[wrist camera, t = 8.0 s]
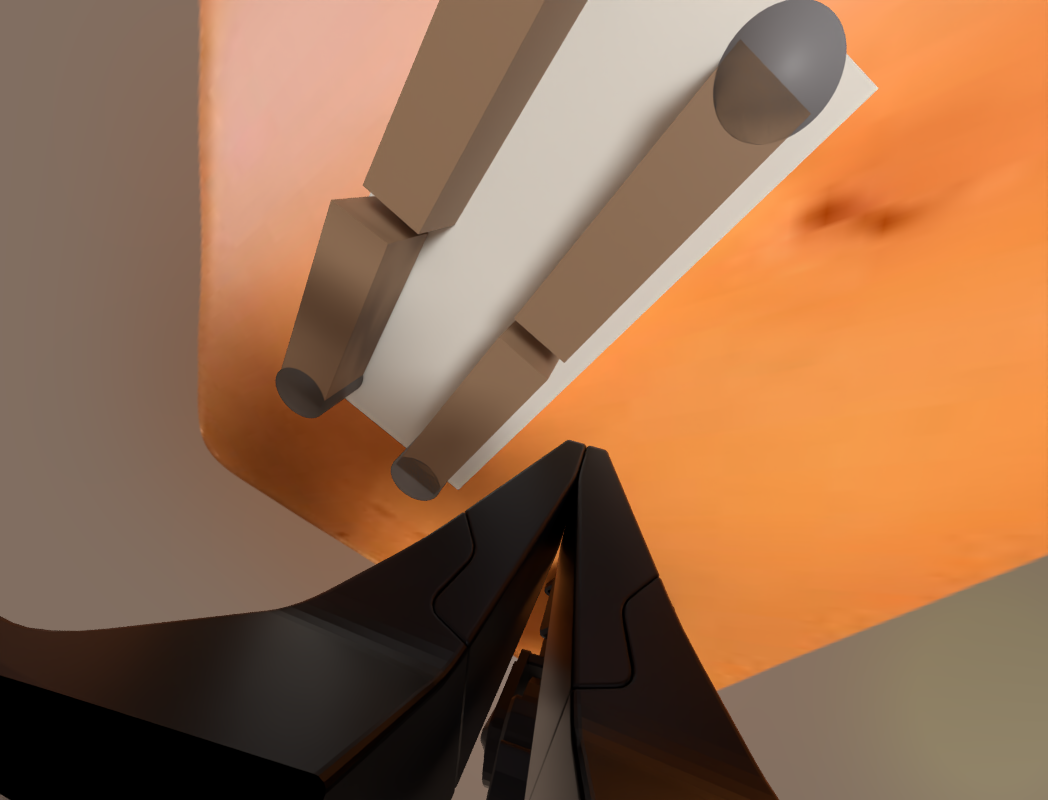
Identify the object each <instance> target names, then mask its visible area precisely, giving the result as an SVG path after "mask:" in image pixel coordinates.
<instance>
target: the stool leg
mask: <svg viewBox="0 0 1048 800" xmlns="http://www.w3.org/2000/svg"><path fill="white" fill-rule="evenodd" d="M427 235H428V232H426V233H422V234H417V233H416V232H415V231H414V230H413V229H412V228H411V227H409V226H408V225H407V224H406V223H405V222H404V221H403V220H402V219H400V218H399V217H398V216H397V215H396V214H395V213H394V212H392V211H391V210H390V209H389V208H388V207H387V206H386V205H385V204H383V203H382V202H381V201H380V200H379V199H378V198H377V197H375V196H370V197H359V198H347V199H336V200H331V202H330V206H329V209H328V212H327V216H326V219H325V223H324V226H323V229H322V233H321V236H320V240H319V243H318V246H317V250H316V253H315V257H314V260H313V263H312V267H311V270H310V274H309V277H308V280H307V284H306V287H305V291H304V294H303V297H302V301H301V304H300V308H299V311H298V314H297V318H296V321H295V325H294V328H293V331H292V335H291V338H290V342H289V345H288V348H287V352H286V355H285V359H284V362H283V365H282V369H281V370H280V371H279V372H278V373H277V376H276V387H277V391H278V393H279V395H280V397H281V398H282V400H283V401H284V403H285V404H286V405H287V406H288V407H289V408H290V409H291V410H292V411H294V412H295V413H297V414H299V415H301V416H303V417H306V418H316V417H319V416H320V415H322V414H323V413H324V412H326V411H327V410H329V409H330V408H332V407H333V406H334V405H336V404H337V403H339V402H340V401H341V400H343V399H344V398H346V397H347V396H348V395H350V394H351V393H353V392H354V391H356V390H357V389H358V388H359V387H360V386H361V385H362V382H363V374H364V372H365V370H366V367H367V365H368V363H369V361H370V359H371V357H372V355H373V352H374V350H375V348H376V346H377V344H378V342H379V339H380V337H381V335H382V333H383V331H384V329H385V326H386V324H387V322H388V320H389V318H390V316H391V313H392V311H393V309H394V307H395V305H396V303H397V300H398V298H399V296H400V294H401V292H402V290H403V287H404V285H405V283H406V281H407V279H408V277H409V274H410V272H411V270H412V268H413V266H414V264H415V261H416V259H417V257H418V255H419V253H420V251H421V248H422V246H423V244H424V242H425V240H426V238H427Z"/></svg>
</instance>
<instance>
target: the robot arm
mask: <svg viewBox="0 0 1048 800" xmlns="http://www.w3.org/2000/svg"><path fill="white" fill-rule="evenodd" d="M564 529H565V530H564ZM563 533H564V534H563ZM562 536H563V538H562ZM561 540H562V542H561ZM560 543H561V546H560ZM559 546H560V552H559V558H558V565H557V572H556V578H554V580H552V581H550V582H548V583H547V584H546V587H545V593H546V594H547V595H548V596H549V599H548V602H547V606H546V609H545V613H544V617H543V620H542V624H541V628H540V635H541V636H542V637H543V638H544V640H543V644H542V648H541V652H540V656H539V655H536V654H532V653H531V651H528V650H524V649H522V650H521V653H520V655H519V658H518V660H517V661H515V662H514V664H513V666H512V669H511V672H510V674H509V676H508V679H507V681H506V684H505V686H504V688H503V691H502V693H501V696H500V698H499V701H498V703H497V705H496V707H495V709H494V711H493V712H492V714H491V716H490V718H489V719H488V721H487V723H486V725H485V726H484V728H483V731H482V734H481V743H482V746H483V749H484V751H485V752H484V763H483V773H482V775H483V776H482V782H483V785H484V787H487V788H489V790H488V795H487V799H486V800H779V799H778V797H777V796H776V794H775V793H774V791H773V790H772V788H771V787H770V785H769V783H768V782H767V780H766V779H765V777H764V776H763V774H762V772H761V770H760V769H759V767H758V765H757V763H756V762H755V760H754V758H753V756H752V754H751V753H750V751H749V749H748V747H747V745H746V744H745V742H744V740H743V738H742V736H741V735H740V733H739V731H738V729H737V727H736V726H735V724H734V722H733V720H732V718H731V716H730V715H729V713H728V711H727V709H726V708H725V706H724V704H723V702H722V700H721V698H720V697H719V695H718V693H717V691H716V689H715V687H714V686H713V684H712V682H711V680H710V678H709V677H708V675H707V673H706V671H705V669H704V668H703V666H702V664H701V662H700V660H699V658H698V656H697V654H696V652H695V651H694V649H693V647H692V645H691V643H690V641H689V639H688V637H687V635H686V633H685V631H684V630H683V628H682V625H681V623H680V621H679V619H678V617H677V615H676V612H675V609H674V607H673V606H672V604H671V601H670V599H669V597H668V594H667V592H666V590H665V587H664V585H663V582H662V580H661V579H660V578H659V573H658V571H657V569H656V566H655V564H654V561H653V559H652V557H651V554H650V552H649V550H648V547H647V545H646V542H645V540H644V538H643V535H642V533H641V531H640V528H639V526H638V523H637V521H636V519H635V516H634V514H633V512H632V509H631V507H630V504H629V502H628V500H627V497H626V495H625V493H624V490H623V488H622V485H621V483H620V481H619V478H618V476H617V474H616V471H615V469H614V466H613V464H612V462H611V459H610V457H609V455H608V452H607V451H606V450H604V449H600V448H597V447H593V446H588V447H587V448H586V445H585V444H582V443H579V442H575V441H572V440H567V441H565V442H564V443H563V444H561V445H560V446H558V447H557V448H555V449H554V450H552V451H551V452H550V453H548V454H547V455H545V456H544V457H542V458H541V459H539V460H538V461H537V462H535V463H534V464H532V465H531V466H529V467H528V468H526V469H525V470H524V471H522V472H521V473H519V474H518V475H516V476H515V477H513V478H512V479H511V480H509V481H508V482H506V483H505V484H503V485H502V486H500V487H499V488H498V489H496V490H495V491H493V492H492V493H490V494H489V495H487V496H486V497H485V498H483V499H482V500H480V501H479V502H477V503H476V504H475V505H473V506H472V507H470V508H469V509H467V510H466V511H465V513H461V514H460V515H458V516H457V517H455V518H454V519H453V520H451V521H450V522H448V523H447V524H445V525H444V526H442V527H440V528H439V529H437V530H436V531H434V532H433V533H431V534H430V535H428V536H427V537H425V538H423V539H421V540H420V541H418V542H416V543H414V544H413V545H411V546H409V547H407V548H406V549H404V550H402V551H400V552H399V553H397V554H395V555H393V556H391V557H389V558H387V559H385V560H384V561H382V562H380V563H378V564H376V565H374V566H373V567H371V568H369V569H367V570H365V571H363V572H361V573H360V574H358V575H356V576H354V577H352V578H350V579H348V580H346V581H344V582H343V583H341V584H339V585H337V586H335V587H333V588H331V589H329V590H327V591H326V592H323V593H321V594H319V595H317V596H315V597H313V598H310V599H308V600H305V601H303V602H300V603H297V604H294V605H291V606H288V607H284V608H280V609H275V610H268V611H259V612H250V613H243V614H233V615H224V616H215V617H206V618H198V619H189V620H180V621H171V622H162V623H154V624H145V625H137V626H127V627H118V628H110V629H98V630H86V631H51V630H44V629H35V628H28V627H24V626H22V625H19V624H15V623H13V622H11V621H8V620H7V619H5V618H3V617H1V616H0V800H451V798H452V796H453V794H454V790H455V788H456V786H457V784H458V782H459V780H460V777H461V775H462V773H463V770H464V768H465V766H466V763H467V761H468V759H469V756H470V754H471V752H472V749H473V747H474V745H475V742H476V740H477V738H478V735H479V733H480V730H481V728H482V726H483V724H484V721H485V719H486V717H487V714H488V712H489V710H490V707H491V705H492V702H493V700H494V698H495V696H496V693H497V691H498V689H499V686H500V684H501V682H502V679H503V677H504V675H505V673H506V670H507V668H508V665H509V663H510V661H511V658H512V656H513V654H514V652H515V649H516V647H517V645H518V642H519V640H520V638H521V635H522V633H523V631H524V628H525V626H526V624H527V621H528V619H529V617H530V614H531V612H532V610H533V607H534V605H535V603H536V600H537V598H538V596H539V593H540V591H541V589H542V586H543V584H544V582H545V579H546V577H547V575H548V572H549V570H550V568H551V565H552V563H553V561H554V558H555V556H556V554H557V551H558V548H559Z"/></svg>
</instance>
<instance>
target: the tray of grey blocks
mask: <svg viewBox="0 0 1048 800" xmlns="http://www.w3.org/2000/svg"><path fill="white" fill-rule="evenodd" d="M877 89H878V87H877V86H876V85H875V84H874V83H873V82H872V81H871V80H870V79H869V78H868V77H867V75H866V74H865V73H864V72H863V71H862V70H861V69H860V68H859V67H858V66H857V65H856V63H855V62H854V61H853V60H852V59H851V58H850V57H849V56H848V55H847V54H846V38H845V33H844V30H843V26H842V24H841V22H840V20H839V19H838V17H837V16H836V15H835V13H834V12H833V11H832V10H831V9H830V8H828V7H827V6H825V5H824V4H822V3H820V2H817V1H814V0H440V1H439V3H438V5H437V8H436V10H435V13H434V15H433V17H432V20H431V22H430V25H429V27H428V29H427V32H426V34H425V37H424V39H423V41H422V44H421V46H420V49H419V51H418V54H417V56H416V58H415V61H414V63H413V66H412V68H411V70H410V73H409V75H408V78H407V80H406V82H405V85H404V87H403V90H402V92H401V94H400V97H399V99H398V102H397V104H396V106H395V109H394V111H393V114H392V116H391V118H390V121H389V123H388V126H387V128H386V130H385V133H384V135H383V138H382V140H381V142H380V145H379V147H378V150H377V152H376V154H375V157H374V159H373V162H372V164H371V167H370V169H369V171H368V174H367V176H366V179H365V181H364V183H363V186H364V187H365V188H366V189H368V190H369V191H370V192H371V193H370V195H369V197H370V196H375V197H377V198H378V199H379V200H380V201H381V202H382V203H383V204H385V205H386V206H387V207H388V208H389V209H390V210H391V211H392V212H394V213H395V214H396V215H397V216H398V217H399V218H400V219H402V220H403V221H404V222H405V223H406V224H407V225H408V226H409V227H411V228H412V229H413V230H414V231H415V232H416V233H417V234H422V233H426V232H428V235H427V238H426V240H425V242H424V244H423V246H422V248H421V251H420V253H419V255H418V257H417V259H416V261H415V264H414V266H413V268H412V270H411V272H410V274H409V277H408V279H407V281H406V283H405V285H404V287H403V290H402V292H401V294H400V296H399V298H398V300H397V303H396V305H395V307H394V309H393V311H392V313H391V316H390V318H389V320H388V322H387V324H386V326H385V329H384V331H383V333H382V335H381V337H380V339H379V342H378V344H377V346H376V348H375V350H374V352H373V355H372V357H371V359H370V361H369V363H368V365H367V367H366V370H365V372H364V374H363V382H362V385H361V386H360V387H359V388H358V389H357V390H356V391H354V392H353V393H351V394H350V395H348V396H347V397H346V398H345V399H346V400H348V401H349V402H350V403H351V404H353V405H354V406H355V407H356V408H358V409H359V410H360V411H361V412H362V413H364V414H365V415H366V416H367V417H369V418H370V419H371V420H372V421H374V422H375V423H376V424H377V425H379V426H380V427H381V428H382V429H383V430H385V431H386V432H387V433H388V434H390V435H391V436H392V437H393V438H395V439H396V440H397V441H398V442H399V443H401V444H402V445H403V446H404V447H406V449H405V451H404V452H403V453H402V454H401V455H400V456H399V457H398V458H397V459H396V460H395V461H394V462H393V464H392V466H391V475H392V478H393V480H394V482H395V484H396V485H397V487H398V488H399V489H400V490H401V491H402V492H404V493H405V494H406V495H408V496H410V497H412V498H414V499H417V500H422V501H427V500H431V499H434V498H435V497H436V496H437V495H438V494H439V492H440V491H441V489H442V488H443V486H444V485H445V484H446V482H447V481H448V482H449V483H450V484H451V485H453V486H454V487H455V488H456V489H457V490H459V489H460V488H461V487H462V486H463V485H464V484H465V483H466V482H467V481H468V480H469V479H470V478H471V477H472V476H473V475H475V474H476V473H477V472H478V471H479V470H480V469H481V468H482V467H483V466H484V465H485V464H486V463H487V462H488V461H489V460H490V459H491V458H492V457H493V456H494V455H495V454H497V453H498V452H499V451H500V450H501V449H502V448H503V447H504V446H505V445H506V444H507V443H508V442H509V441H510V440H511V439H512V438H513V437H514V436H515V435H516V434H517V433H518V432H520V431H521V430H522V429H523V428H524V427H525V426H526V425H527V424H528V423H529V422H530V421H531V420H532V419H533V418H534V417H535V416H536V415H537V414H538V413H539V412H540V411H541V410H543V409H544V408H545V407H546V406H547V405H548V404H549V403H550V402H551V401H552V400H553V399H554V398H555V397H556V396H557V395H558V394H559V393H560V392H561V391H562V390H563V389H565V388H566V387H567V386H568V385H569V384H570V383H571V382H572V381H573V380H574V379H575V378H576V377H577V376H578V375H579V374H580V373H581V372H582V371H583V370H584V369H585V368H586V367H588V366H589V365H590V364H591V363H592V362H593V361H594V360H595V359H596V358H597V357H598V356H599V355H600V354H601V353H602V352H603V351H604V350H605V349H606V348H607V347H608V346H610V345H611V344H612V343H613V342H614V341H615V340H616V339H617V338H618V337H619V336H620V335H621V334H622V333H623V332H624V331H625V330H626V329H627V328H628V327H629V326H630V325H631V324H633V323H634V322H635V321H636V320H637V319H638V318H639V317H640V316H641V315H642V314H643V313H644V312H645V311H646V310H647V309H648V308H649V307H650V306H651V305H652V304H653V303H655V302H656V301H657V300H658V299H659V298H660V297H661V296H662V295H663V294H664V293H665V292H666V291H667V290H668V289H669V288H670V287H671V286H672V285H673V284H674V283H675V282H676V281H678V280H679V279H680V278H681V277H682V276H683V275H684V274H685V273H686V272H687V271H688V270H689V269H690V268H691V267H692V266H693V265H694V264H695V263H696V262H697V261H698V260H700V259H701V258H702V257H703V256H704V255H705V254H706V253H707V252H708V251H709V250H710V249H711V248H712V247H713V246H714V245H715V244H716V243H717V242H718V241H719V240H720V239H721V238H723V237H724V236H725V235H726V234H727V233H728V232H729V231H730V230H731V229H732V228H733V227H734V226H735V225H736V224H737V223H738V222H739V221H740V220H741V219H742V218H743V217H744V216H746V215H747V214H748V213H749V212H750V211H751V210H752V209H753V208H754V207H755V206H756V205H757V204H758V203H759V202H760V201H761V200H762V199H763V198H764V197H765V196H766V195H768V194H769V193H770V192H771V191H772V190H773V189H774V188H775V187H776V186H777V185H778V184H779V183H780V182H781V181H782V180H783V179H784V178H785V177H786V176H787V175H788V174H789V173H791V172H792V171H793V170H794V169H795V168H796V167H797V166H798V165H799V164H800V163H801V162H802V161H803V160H804V159H805V158H806V157H807V156H808V155H809V154H810V153H811V152H813V151H814V150H815V149H816V148H817V147H818V146H819V145H820V144H821V143H822V142H823V141H824V140H825V139H826V138H827V137H828V136H829V135H830V134H831V133H832V132H833V131H834V130H836V129H837V128H838V127H839V126H840V125H841V124H842V123H843V122H844V121H845V120H846V119H847V118H848V117H849V116H850V115H851V114H852V113H853V112H854V111H855V110H856V109H858V108H859V107H860V106H861V105H862V104H863V103H864V102H865V101H866V100H867V99H868V98H869V97H870V96H871V95H872V94H873V93H874V92H875V91H876V90H877Z"/></svg>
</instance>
